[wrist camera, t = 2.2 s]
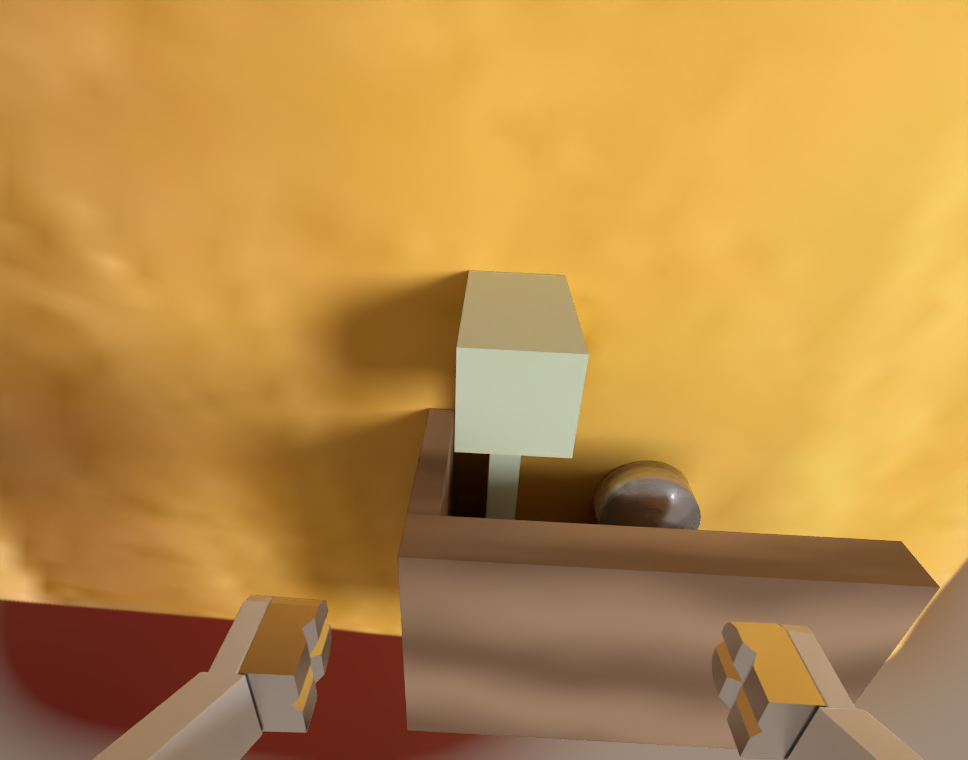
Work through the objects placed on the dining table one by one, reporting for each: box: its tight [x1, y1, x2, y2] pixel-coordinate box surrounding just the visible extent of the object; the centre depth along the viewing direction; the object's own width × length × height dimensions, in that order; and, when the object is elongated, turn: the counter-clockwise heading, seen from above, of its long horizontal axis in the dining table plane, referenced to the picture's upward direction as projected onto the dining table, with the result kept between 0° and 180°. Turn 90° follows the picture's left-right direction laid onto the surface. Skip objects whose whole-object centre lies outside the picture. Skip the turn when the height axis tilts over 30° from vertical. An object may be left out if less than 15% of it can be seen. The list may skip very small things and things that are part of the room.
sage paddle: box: [455, 270, 589, 520], centre depth 23 cm, size 16×4×7 cm, turn 177°
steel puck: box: [594, 461, 701, 530], centre depth 27 cm, size 5×5×2 cm
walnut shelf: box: [398, 409, 940, 749], centre depth 24 cm, size 11×18×9 cm, turn 87°
